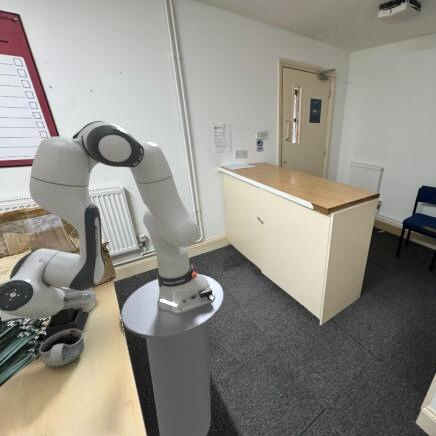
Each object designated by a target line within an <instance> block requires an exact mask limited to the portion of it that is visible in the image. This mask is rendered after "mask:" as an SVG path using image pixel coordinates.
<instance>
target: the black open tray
mask: <svg viewBox="0 0 436 436" xmlns="http://www.w3.org/2000/svg"><path fill="white" fill-rule="evenodd" d="M74 312H75V316H76V318H75V320H74V322H71V323H67V324H62V325H57V326H54V325H53V321H52V318H51V317H50V319H49V321H48V323H47V325H46V326H45V328H44V332H45V331H46V334H47V335H45V336H43V335H42V336H41V341H42V342H44V341H45V340H47V339H48V338H49V337H51V336H53V335H54V334H56V333H58V332H61V331H63V330H67V329H79V330H81V331H82V332H84V328H85V327H86V323H87V321H88V318H89V311H87V312H83V309H82V308H80V309H74ZM42 338H44V339H42Z"/></svg>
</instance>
